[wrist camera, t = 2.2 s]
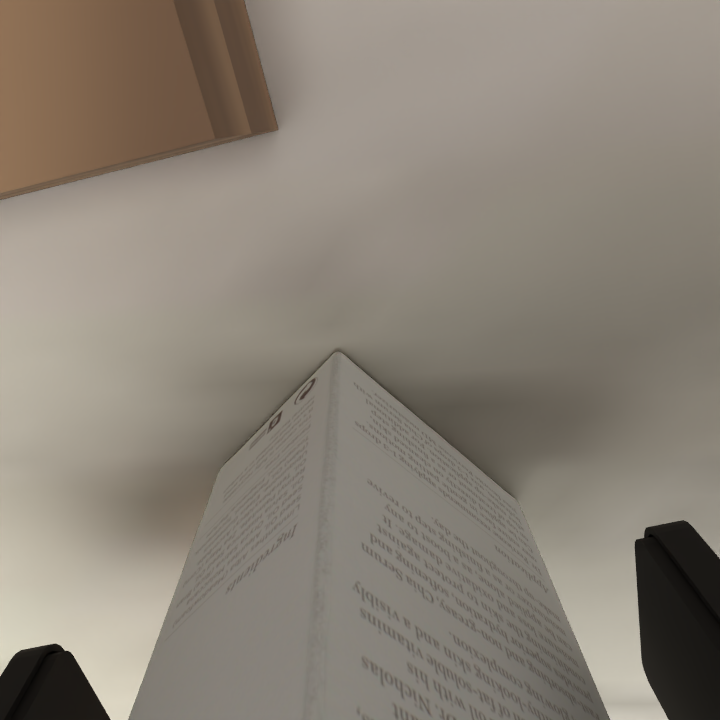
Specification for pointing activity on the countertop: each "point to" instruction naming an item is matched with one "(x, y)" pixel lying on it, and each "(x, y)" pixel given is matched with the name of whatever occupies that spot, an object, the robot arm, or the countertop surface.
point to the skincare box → (362, 581)
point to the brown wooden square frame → (122, 85)
